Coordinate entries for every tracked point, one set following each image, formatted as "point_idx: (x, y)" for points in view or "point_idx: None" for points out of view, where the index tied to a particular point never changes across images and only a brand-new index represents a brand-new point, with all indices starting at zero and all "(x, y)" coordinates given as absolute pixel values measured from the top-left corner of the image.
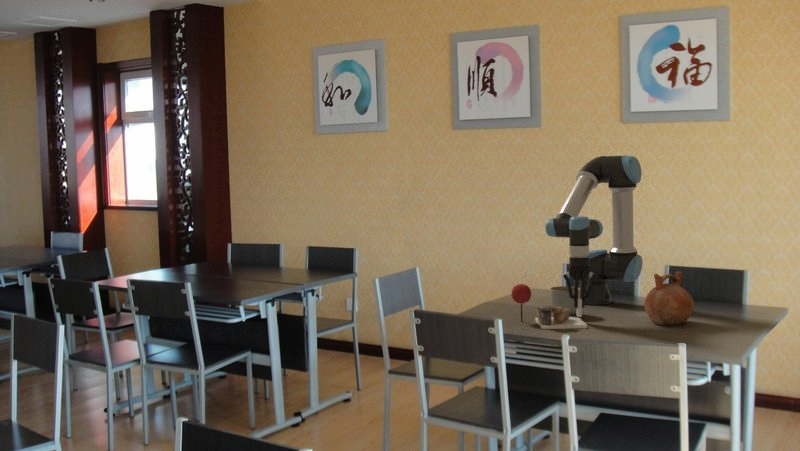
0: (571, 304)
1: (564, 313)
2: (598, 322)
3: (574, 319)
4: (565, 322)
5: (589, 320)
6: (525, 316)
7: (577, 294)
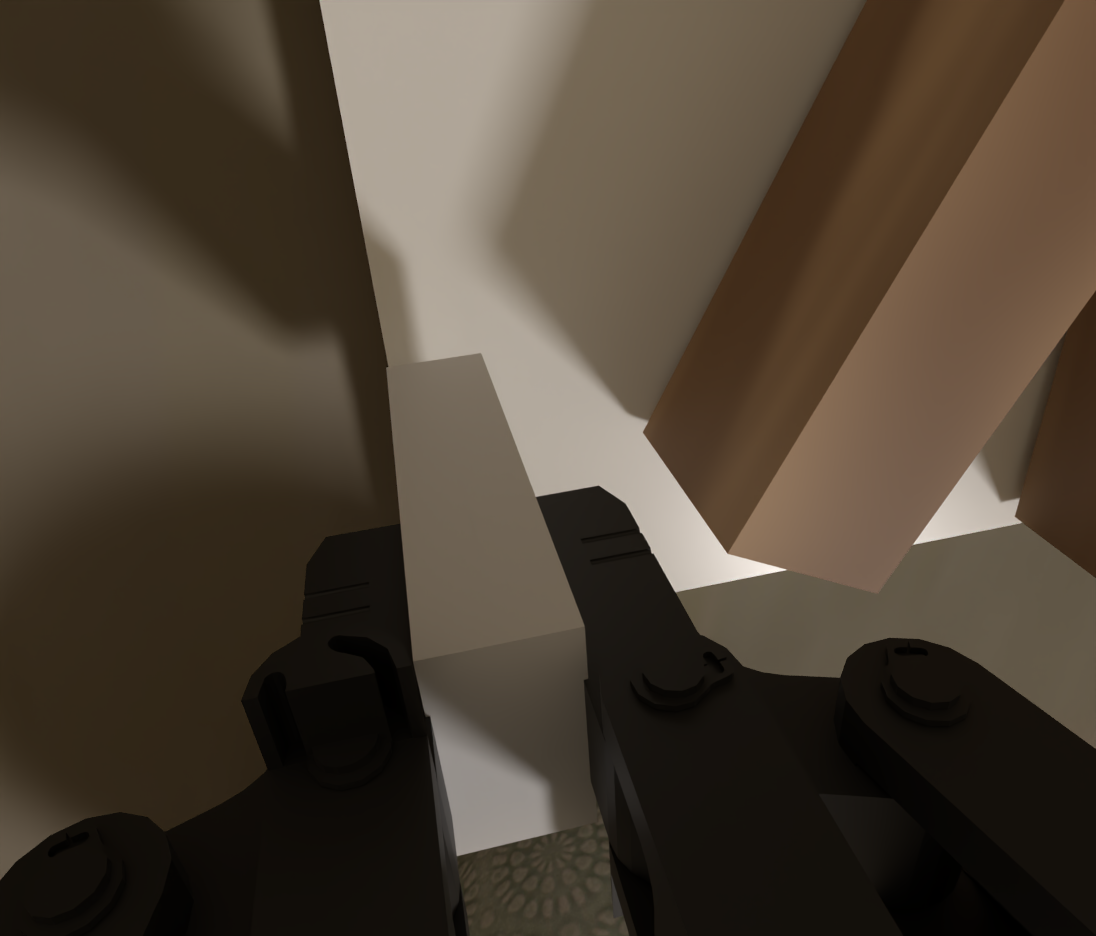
0: (570, 931)
1: (930, 130)
2: (8, 421)
3: (536, 399)
4: (794, 52)
5: (224, 577)
6: (1084, 690)
7: (705, 867)
